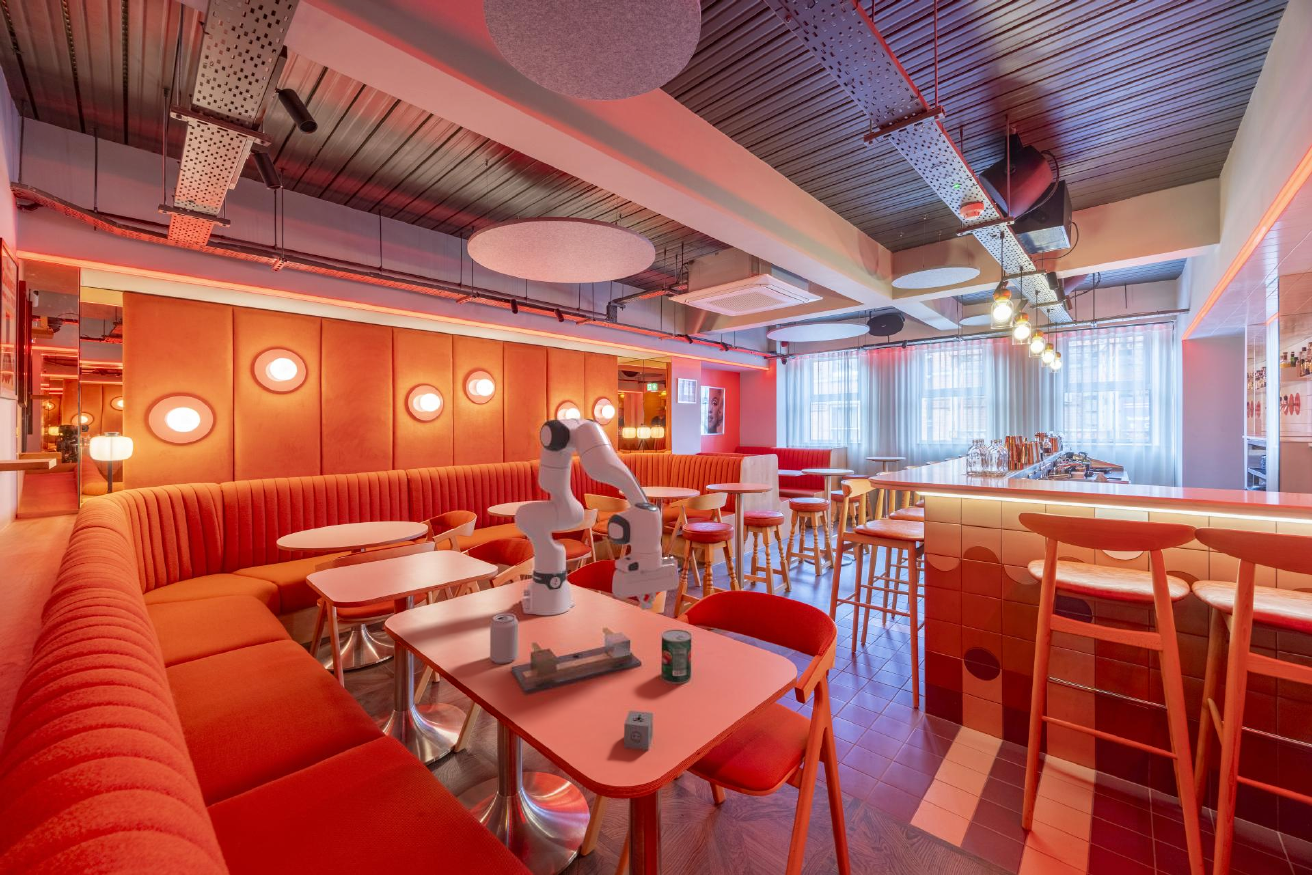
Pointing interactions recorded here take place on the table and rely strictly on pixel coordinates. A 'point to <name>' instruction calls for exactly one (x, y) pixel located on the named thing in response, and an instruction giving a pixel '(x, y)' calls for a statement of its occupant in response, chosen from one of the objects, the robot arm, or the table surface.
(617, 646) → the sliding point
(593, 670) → the bolt plate
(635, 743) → the dice cube
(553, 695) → the table surface
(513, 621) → the can
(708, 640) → the table surface
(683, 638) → the canned tomato
